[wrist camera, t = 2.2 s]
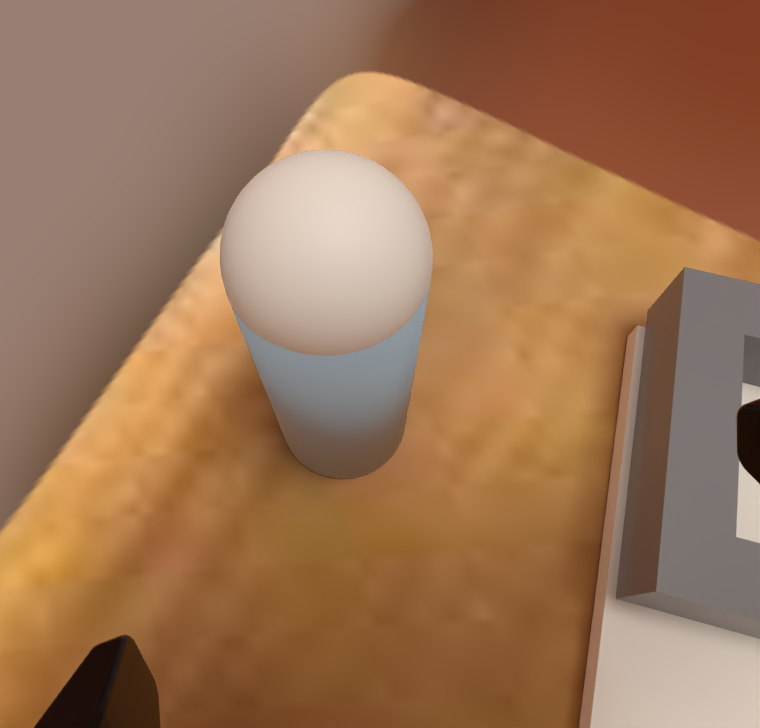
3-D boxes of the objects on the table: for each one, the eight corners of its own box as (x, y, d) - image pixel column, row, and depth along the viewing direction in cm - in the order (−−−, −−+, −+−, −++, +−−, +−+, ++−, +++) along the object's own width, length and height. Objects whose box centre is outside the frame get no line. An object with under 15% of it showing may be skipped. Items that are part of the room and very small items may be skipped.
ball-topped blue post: (387, 493, 22) (410, 328, 10) (265, 460, 22) (156, 265, 11) (418, 378, 23) (467, 127, 12) (304, 349, 24) (246, 79, 12)
